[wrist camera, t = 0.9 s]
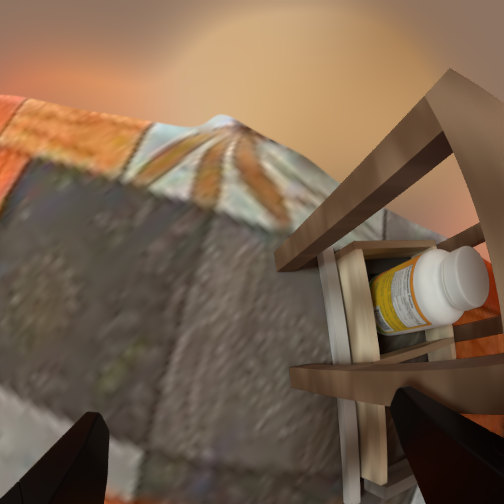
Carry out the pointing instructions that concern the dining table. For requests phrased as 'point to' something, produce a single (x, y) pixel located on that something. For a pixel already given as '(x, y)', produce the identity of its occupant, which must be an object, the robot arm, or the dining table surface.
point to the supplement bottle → (429, 291)
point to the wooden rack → (381, 356)
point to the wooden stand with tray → (368, 203)
